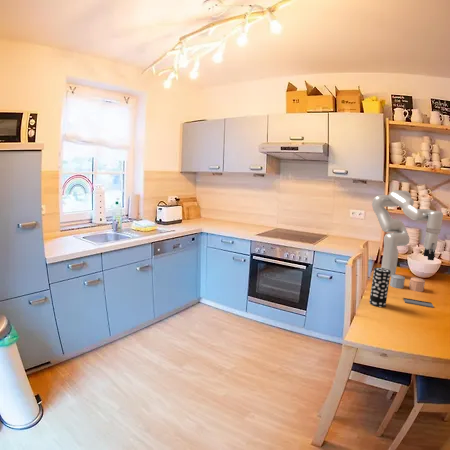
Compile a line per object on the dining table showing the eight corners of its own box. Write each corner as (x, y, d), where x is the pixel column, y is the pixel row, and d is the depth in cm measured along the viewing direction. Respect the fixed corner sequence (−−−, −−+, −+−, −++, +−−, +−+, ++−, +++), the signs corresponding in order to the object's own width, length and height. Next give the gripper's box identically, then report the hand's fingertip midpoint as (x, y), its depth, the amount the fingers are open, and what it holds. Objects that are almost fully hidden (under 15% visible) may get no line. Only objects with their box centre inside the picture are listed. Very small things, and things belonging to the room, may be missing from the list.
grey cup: (390, 289, 205) (392, 277, 204) (389, 285, 212) (390, 273, 211) (403, 291, 202) (405, 279, 201) (402, 287, 209) (404, 275, 208)
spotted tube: (382, 301, 184) (387, 268, 181) (388, 307, 176) (393, 272, 173) (367, 300, 185) (371, 266, 182) (372, 306, 177) (377, 271, 174)
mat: (405, 302, 185) (405, 301, 184) (401, 293, 199) (401, 292, 199) (433, 307, 180) (433, 306, 179) (427, 297, 194) (427, 296, 194)
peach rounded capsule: (409, 292, 201) (411, 280, 200) (408, 288, 208) (409, 276, 207) (423, 294, 199) (426, 282, 197) (421, 290, 206) (423, 278, 204)
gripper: (422, 228, 207) (418, 254, 210) (429, 232, 191) (425, 260, 194) (436, 229, 205) (431, 255, 208) (444, 234, 189) (439, 262, 192)
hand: (428, 258), depth 201 cm, fingers open, 9 cm apart
